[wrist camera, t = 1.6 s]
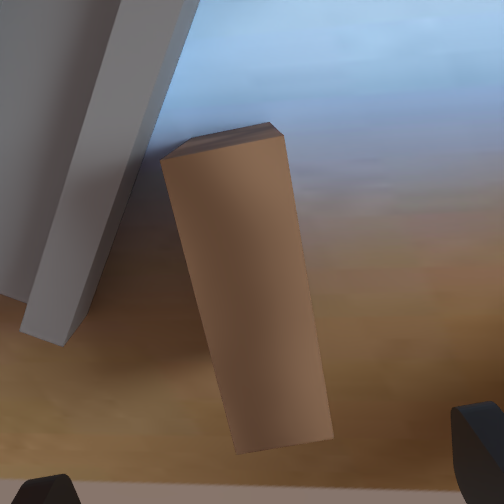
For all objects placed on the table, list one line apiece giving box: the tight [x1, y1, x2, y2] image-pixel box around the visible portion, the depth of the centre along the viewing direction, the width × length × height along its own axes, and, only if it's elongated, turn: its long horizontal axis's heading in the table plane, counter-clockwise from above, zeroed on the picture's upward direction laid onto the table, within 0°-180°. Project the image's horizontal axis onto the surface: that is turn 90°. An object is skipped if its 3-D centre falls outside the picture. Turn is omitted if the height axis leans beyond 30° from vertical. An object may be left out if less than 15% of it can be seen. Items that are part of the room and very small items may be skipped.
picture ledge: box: [0, 0, 200, 347], centre depth 20 cm, size 10×24×4 cm, turn 156°
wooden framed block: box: [160, 122, 334, 455], centre depth 20 cm, size 4×12×9 cm, turn 11°
